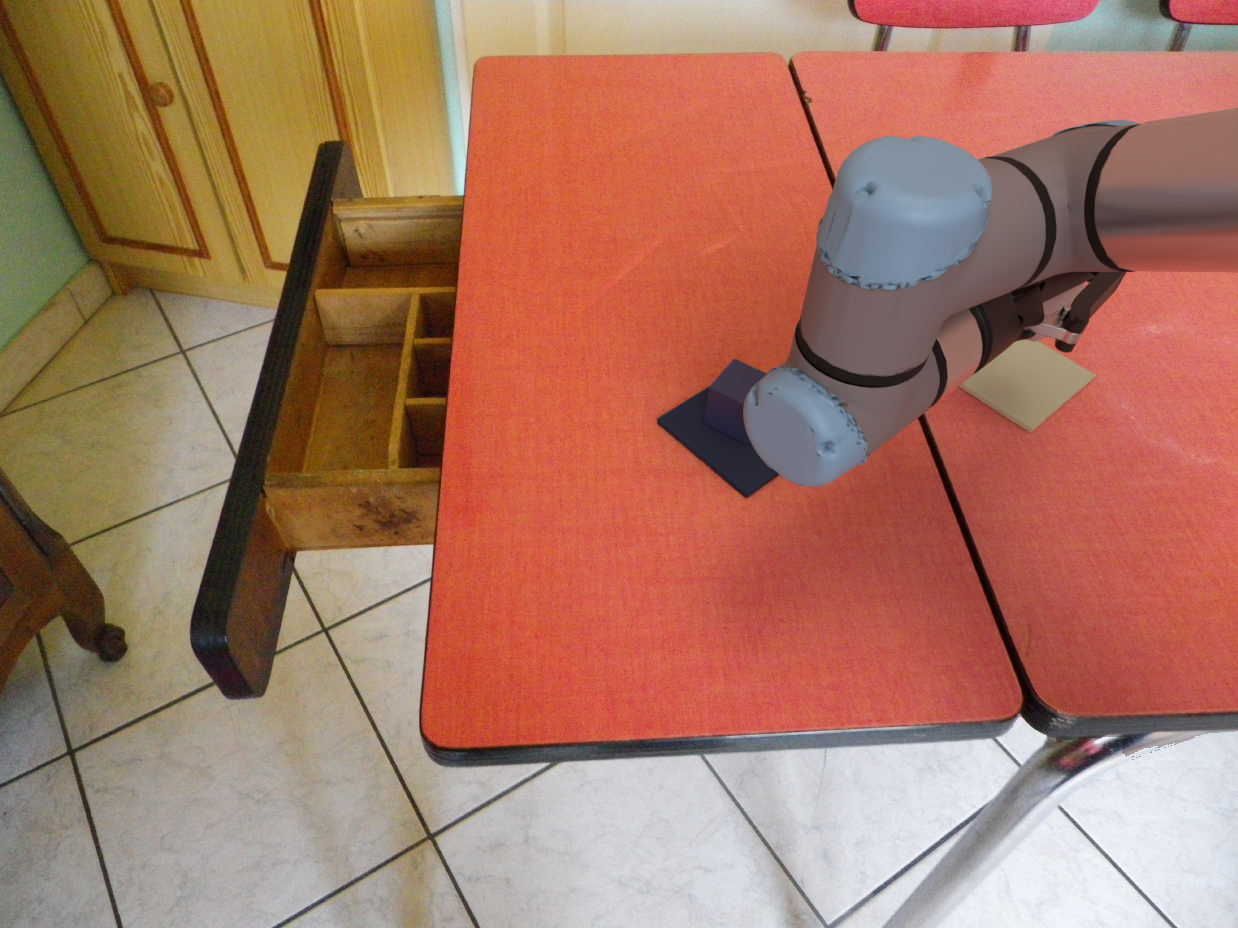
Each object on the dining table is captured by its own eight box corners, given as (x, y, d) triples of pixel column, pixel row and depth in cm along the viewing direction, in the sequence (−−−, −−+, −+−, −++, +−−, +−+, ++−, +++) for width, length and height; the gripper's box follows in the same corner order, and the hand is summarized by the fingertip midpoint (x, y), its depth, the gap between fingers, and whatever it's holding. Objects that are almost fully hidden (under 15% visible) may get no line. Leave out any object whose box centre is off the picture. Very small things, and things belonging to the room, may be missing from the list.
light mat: (1093, 379, 80) (1096, 374, 80) (1030, 433, 76) (1032, 429, 75) (993, 320, 86) (995, 315, 85) (928, 367, 81) (930, 362, 80)
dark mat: (832, 436, 75) (834, 431, 74) (746, 498, 70) (747, 494, 69) (742, 369, 80) (743, 364, 80) (656, 423, 75) (656, 418, 75)
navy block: (771, 414, 75) (779, 378, 72) (747, 444, 73) (754, 408, 70) (727, 393, 77) (734, 357, 74) (703, 422, 75) (708, 386, 71)
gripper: (829, 316, 63) (1003, 205, 74) (1019, 439, 56) (1183, 295, 66) (853, 229, 58) (1038, 122, 68) (1068, 353, 50) (1240, 211, 60)
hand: (1109, 208), depth 67 cm, fingers closed on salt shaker, 3 cm apart
